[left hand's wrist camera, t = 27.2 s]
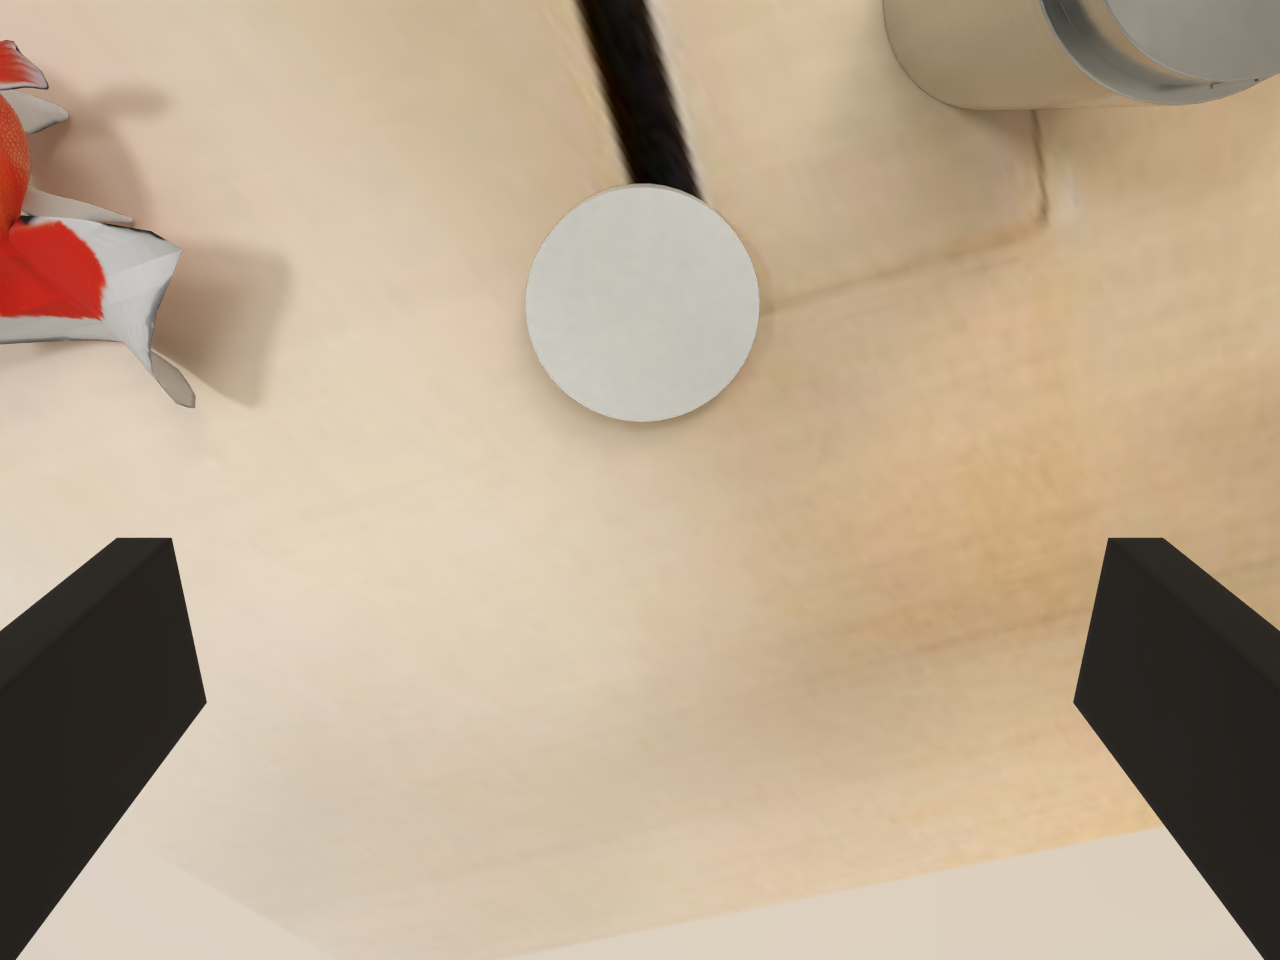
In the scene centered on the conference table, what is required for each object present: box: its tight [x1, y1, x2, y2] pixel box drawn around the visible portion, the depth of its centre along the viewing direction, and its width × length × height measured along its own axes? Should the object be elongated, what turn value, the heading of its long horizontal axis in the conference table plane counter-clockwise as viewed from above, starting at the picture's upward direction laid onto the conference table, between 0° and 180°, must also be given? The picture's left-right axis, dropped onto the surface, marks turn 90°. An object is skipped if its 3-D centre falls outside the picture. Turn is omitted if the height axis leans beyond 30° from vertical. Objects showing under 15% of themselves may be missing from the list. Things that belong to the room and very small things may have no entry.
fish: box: [0, 40, 195, 408], centre depth 32 cm, size 11×16×10 cm
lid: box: [525, 184, 760, 422], centre depth 36 cm, size 9×9×2 cm
